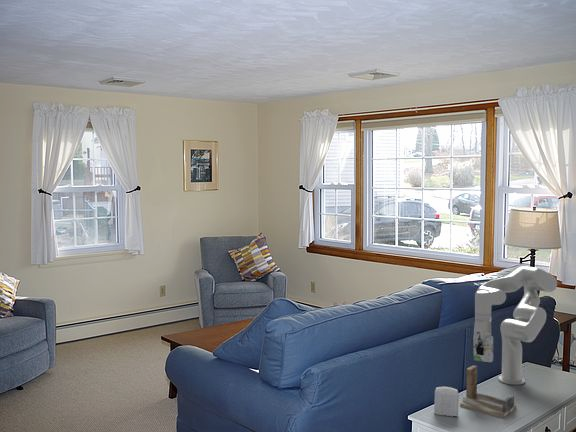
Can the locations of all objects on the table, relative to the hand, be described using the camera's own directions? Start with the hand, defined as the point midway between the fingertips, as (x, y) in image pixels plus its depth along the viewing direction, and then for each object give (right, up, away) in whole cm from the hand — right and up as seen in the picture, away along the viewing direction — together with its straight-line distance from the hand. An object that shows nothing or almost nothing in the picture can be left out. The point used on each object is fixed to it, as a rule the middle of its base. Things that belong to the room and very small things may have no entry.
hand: (483, 352), depth 295 cm
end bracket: (-10, -18, -13) cm, 25 cm away
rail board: (-4, -20, -19) cm, 28 cm away
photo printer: (-25, -22, -27) cm, 42 cm away
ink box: (0, -4, 0) cm, 4 cm away
